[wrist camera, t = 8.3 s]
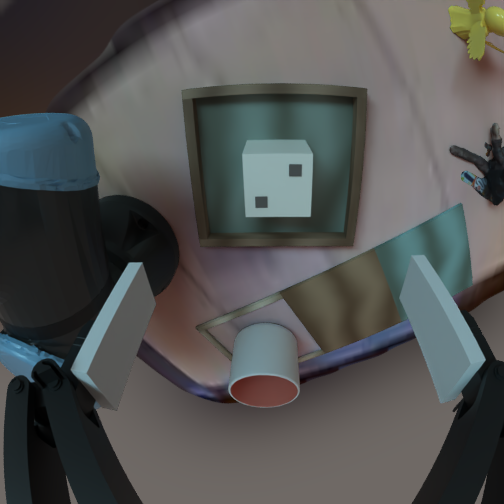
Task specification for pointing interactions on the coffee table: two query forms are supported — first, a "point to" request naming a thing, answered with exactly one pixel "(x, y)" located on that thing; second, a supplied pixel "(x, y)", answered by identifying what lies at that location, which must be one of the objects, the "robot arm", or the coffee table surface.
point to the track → (369, 285)
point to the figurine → (477, 25)
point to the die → (277, 178)
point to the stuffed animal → (486, 168)
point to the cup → (264, 366)
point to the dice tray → (275, 128)
